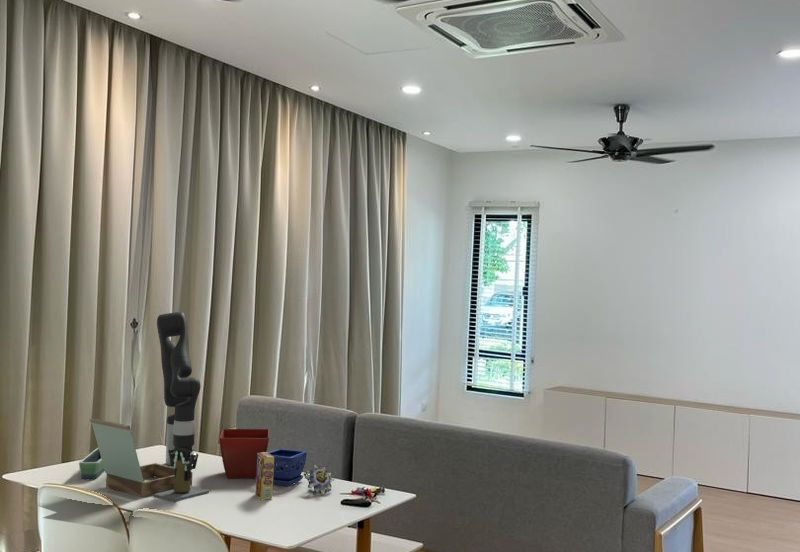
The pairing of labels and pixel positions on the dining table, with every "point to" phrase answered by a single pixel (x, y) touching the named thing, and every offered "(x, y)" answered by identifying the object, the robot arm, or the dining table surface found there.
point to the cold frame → (148, 487)
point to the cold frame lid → (117, 449)
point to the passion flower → (319, 479)
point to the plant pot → (242, 451)
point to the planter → (91, 466)
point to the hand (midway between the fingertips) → (182, 479)
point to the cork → (181, 478)
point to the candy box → (264, 475)
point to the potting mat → (181, 494)
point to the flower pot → (288, 466)
